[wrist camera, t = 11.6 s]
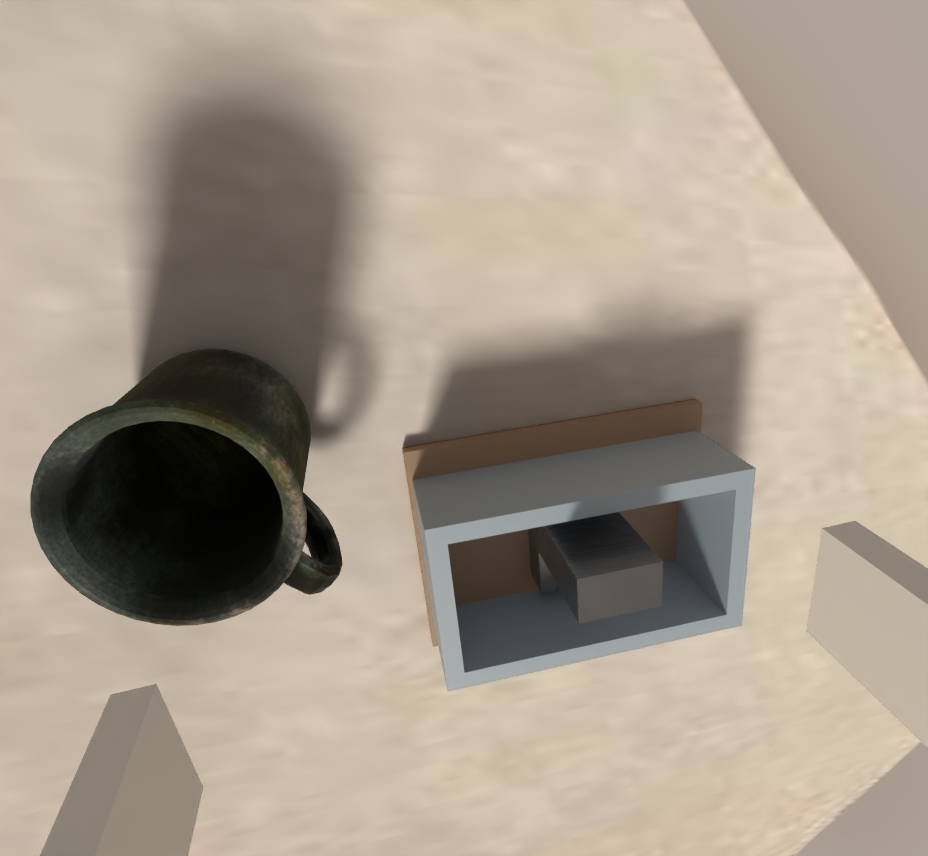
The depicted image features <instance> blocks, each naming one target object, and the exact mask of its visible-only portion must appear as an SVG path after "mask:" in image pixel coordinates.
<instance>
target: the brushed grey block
mask: <svg viewBox="0 0 928 856" xmlns="http://www.w3.org/2000/svg"><path fill="white" fill-rule="evenodd" d="M528 536H529V550H530V563H531V574H532V576H533V578H534V580H535V582H536V584H537V586H538V588H539V590H540V592H541V594H545V593H550V592H555V591H559V590H560V591H561V593H562V595H563V596H564V598H565V600H566V602H567V604H568V605H569V607H570V609H571V611H572V613H573V614H574V616H575V618H576V620H577V622H578V623H579V624H580V623H584V622H589V621H594V620H598V619H603V618H608V617H612V616H617V615H621V614H626V613H631V612H635V611H640V610H645V609H649V608H654V607H658V606H662V579H663V561H662V560H661V559H660V558H659V557H658V556H657V554H656V553H655V552H654V551H653V550H652V549H651V548H650V547H649V545H648V544H647V543H646V542H645V541H644V540H643V539H642V538H641V536H640V535H639V534H638V533H637V532H636V531H635V530H634V529H633V528H632V526H631V525H630V524H629V523H628V522H627V521H626V520H625V519H624V517H623V516H622V515H621V514H620V513H619V512H615V513H610V514H604V515H599V516H594V517H589V518H583V519H578V520H573V521H568V522H562V523H557V524H552V525H547V526H541V527H536V528H531V529H528Z"/></svg>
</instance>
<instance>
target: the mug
mask: <svg viewBox="0 0 928 856" xmlns="http://www.w3.org/2000/svg"><path fill="white" fill-rule="evenodd" d="M309 447H310V425H309V420H308V415H307V413H306V410H305V407H304V405H303V403H302V401H301V399H300V398H299V396H298V394H297V392H296V391H295V390H294V389H293V387H292V386H291V385H290V384H289V382H288V381H286V380H285V379H284V378H283V377H282V376H281V375H280V374H279V373H278V372H276V371H275V370H274V369H272V368H271V367H269V366H268V365H266V364H264V363H263V362H261V361H259V360H257V359H255V358H252V357H250V356H247V355H244V354H241V353H237V352H232V351H227V350H214V349H208V350H197V351H192V352H188V353H184V354H181V355H178V356H176V357H174V358H171V359H169V360H168V361H166V362H164V363H163V364H161V365H160V366H158V367H157V368H156V369H155V370H153V371H152V372H151V373H150V374H149V375H148V376H146V377H145V378H144V379H143V380H142V381H141V382H139V383H138V384H137V385H136V386H135V387H134V388H132V389H131V390H130V391H129V392H128V393H126V394H125V395H124V396H123V397H122V398H121V399H119V400H118V401H117V402H116V403H115V404H114V405H112V406H108V407H105V408H103V409H100V410H98V411H96V412H93V413H91V414H89V415H86V416H85V417H83V418H82V419H80V420H79V421H77V422H75V423H74V424H72V425H71V426H69V427H68V428H67V429H66V430H65V431H64V432H63V433H62V434H61V435H59V436H58V437H57V438H56V439H55V440H54V441H53V443H52V444H51V446H50V447H49V448H48V450H47V451H46V453H45V454H44V455H43V457H42V459H41V461H40V464H39V466H38V468H37V470H36V473H35V476H34V480H33V485H32V490H31V517H32V522H33V527H34V531H35V534H36V536H37V539H38V541H39V543H40V546H41V548H42V550H43V552H44V553H45V555H46V556H47V558H48V560H49V561H50V563H51V564H52V566H53V567H54V568H55V569H56V570H57V571H58V573H59V574H60V575H61V576H62V577H63V578H64V579H65V580H66V581H67V582H68V583H69V584H70V585H71V586H73V587H74V588H75V589H76V590H77V591H79V592H80V593H81V594H83V595H84V596H86V597H87V598H89V599H90V600H92V601H93V602H95V603H97V604H98V605H100V606H102V607H104V608H107V609H109V610H111V611H113V612H115V613H117V614H120V615H123V616H126V617H129V618H132V619H135V620H140V621H145V622H149V623H154V624H163V625H175V626H181V625H199V624H206V623H212V622H217V621H221V620H224V619H228V618H231V617H234V616H236V615H239V614H241V613H243V612H245V611H248V610H250V609H252V608H253V607H255V606H257V605H258V604H260V603H261V602H263V601H264V600H266V599H267V598H268V597H269V596H271V595H272V594H273V593H274V592H275V591H276V590H278V589H279V587H280V586H281V585H282V584H283V583H285V584H287V585H289V586H291V587H293V588H295V589H297V590H299V591H301V592H303V593H306V594H309V595H310V594H315V593H319V592H322V591H323V590H325V589H326V588H327V587H329V586H330V585H331V584H332V583H333V582H334V580H335V579H336V578H337V577H338V575H339V573H340V570H341V567H342V557H341V552H340V547H339V542H338V540H337V537H336V534H335V532H334V529H333V527H332V525H331V524H330V522H329V520H328V519H327V517H326V516H325V514H324V513H323V512H322V511H321V510H320V508H319V507H318V506H317V505H316V504H315V503H314V502H313V501H312V500H311V499H310V498H309V497H308V496H307V495H306V494H305V493H303V485H304V479H305V472H306V466H307V459H308V453H309ZM305 542H306V544H307V546H308V548H309V551H310V554H311V557H310V556H309V555H307V554H306V553H304V552H303V551H302V549H303V547H304V543H305Z"/></svg>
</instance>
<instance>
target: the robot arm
mask: <svg viewBox="0 0 928 856" xmlns="http://www.w3.org/2000/svg"><path fill="white" fill-rule="evenodd" d="M807 632H808V633H809V634H810V635H811V636H812V637H813V638H814V639H815V640H816V641H817V642H818V643H819V644H820V645H821V646H822V647H823V648H824V649H825V650H826V651H827V652H828V653H830V654H831V655H832V656H833V657H834V658H835V659H836V660H837V661H838V662H839V663H840V664H841V665H842V666H843V667H844V668H845V669H846V670H847V671H848V672H849V673H850V674H851V675H852V676H853V677H854V678H855V679H856V680H858V681H859V682H860V683H861V684H862V685H863V686H864V687H865V688H866V689H867V690H868V691H869V692H870V693H871V694H872V695H873V696H874V697H875V698H876V699H877V700H878V701H879V702H880V703H881V704H882V705H883V706H884V707H885V708H887V709H888V710H889V711H890V712H891V713H892V714H893V715H894V716H895V717H896V718H897V719H898V720H899V721H900V722H901V723H902V724H903V725H904V726H905V727H906V728H907V729H908V730H909V731H910V732H911V733H912V734H913V735H915V736H916V737H917V738H918V739H919V740H920V741H921V742H922V743H923V744H924V745H925V746H926V747H927V748H928V568H926V567H925V566H923V565H921V564H920V563H918V562H917V561H915V560H914V559H912V558H911V557H909V556H908V555H906V554H905V553H903V552H902V551H900V550H899V549H897V548H896V547H894V546H893V545H891V544H890V543H888V542H887V541H885V540H884V539H882V538H881V537H879V536H878V535H876V534H875V533H873V532H872V531H870V530H868V529H867V528H865V527H864V526H862V525H861V524H859V523H858V522H856V521H852V522H848V523H843V524H839V525H835V526H831V527H826V528H822V532H821V539H820V546H819V552H818V559H817V565H816V572H815V578H814V585H813V592H812V598H811V605H810V611H809V618H808V625H807ZM202 790H203V785H202V783H201V781H200V779H199V777H198V774H197V772H196V770H195V768H194V766H193V763H192V761H191V759H190V757H189V755H188V753H187V750H186V748H185V746H184V744H183V742H182V739H181V737H180V735H179V733H178V731H177V728H176V726H175V724H174V722H173V720H172V717H171V715H170V713H169V711H168V709H167V706H166V704H165V702H164V700H163V698H162V695H161V693H160V691H159V689H158V687H157V684H154V685H150V686H146V687H142V688H137V689H133V690H129V691H125V692H120V693H116V694H112V695H110V697H109V700H108V702H107V704H106V707H105V709H104V711H103V713H102V716H101V718H100V720H99V722H98V725H97V727H96V729H95V732H94V734H93V736H92V738H91V741H90V743H89V745H88V748H87V750H86V752H85V754H84V757H83V759H82V761H81V763H80V766H79V768H78V770H77V773H76V775H75V777H74V779H73V782H72V784H71V786H70V788H69V791H68V793H67V795H66V798H65V800H64V802H63V804H62V807H61V809H60V811H59V813H58V816H57V818H56V820H55V823H54V825H53V827H52V829H51V832H50V834H49V836H48V838H47V841H46V843H45V845H44V848H43V850H42V852H41V854H40V856H188V853H189V849H190V844H191V840H192V835H193V830H194V826H195V821H196V817H197V812H198V808H199V803H200V799H201V794H202Z"/></svg>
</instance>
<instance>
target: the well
mask: <svg viewBox="0 0 928 856" xmlns="http://www.w3.org/2000/svg"><path fill="white" fill-rule="evenodd" d="M701 406H702V403H701V402H700V401H698V400H696V399H694V400H688V401H682V402H676V403H670V404H664V405H658V406H652V407H646V408H640V409H634V410H628V411H622V412H616V413H610V414H604V415H598V416H592V417H586V418H580V419H574V420H568V421H562V422H556V423H550V424H544V425H538V426H532V427H526V428H520V429H514V430H508V431H502V432H496V433H490V434H484V435H478V436H472V437H466V438H460V439H454V440H448V441H442V442H436V443H430V444H424V445H418V446H412V447H406V448H402V449H403V455H404V462H405V468H406V475H407V481H408V488H409V494H410V501H411V508H412V514H413V521H414V527H415V534H416V540H417V547H418V553H419V560H420V566H421V573H422V579H423V586H424V592H425V599H426V605H427V612H428V618H429V625H430V631H431V638H432V643H433V647H434V646H439V651H440V656H441V661H442V665H443V670H444V675H445V680H446V684H447V689H448V691H452V690H457V689H461V688H466V687H470V686H475V685H479V684H484V683H488V682H492V681H497V680H501V679H506V678H510V677H515V676H519V675H524V674H528V673H532V672H537V671H541V670H546V669H550V668H555V667H559V666H564V665H568V664H573V663H577V662H581V661H586V660H590V659H595V658H599V657H604V656H608V655H613V654H617V653H621V652H626V651H630V650H635V649H639V648H644V647H648V646H653V645H657V644H661V643H666V642H670V641H675V640H679V639H684V638H688V637H693V636H697V635H702V634H706V633H710V632H715V631H719V630H724V629H728V628H733V627H737V626H742V617H743V606H744V595H745V583H746V572H747V561H748V549H749V538H750V527H751V515H752V504H753V492H754V481H755V470H756V468H754V467H753V466H751V465H750V464H748V463H746V462H745V461H743V460H742V459H740V458H739V457H737V456H736V455H734V454H732V453H731V452H729V451H728V450H726V449H725V448H723V447H721V446H720V445H718V444H717V443H715V442H714V441H712V440H711V439H709V438H707V437H706V436H704V435H703V434H701V433H700V426H701ZM615 512H619V513H620V514H621V515H622V516H623V517H624V519H625V520H626V521H627V522H628V523H629V524H630V525H631V526H632V528H633V529H634V530H635V531H636V532H637V533H638V534H639V535H640V536H641V538H642V539H643V540H644V541H645V542H646V543H647V544H648V545H649V547H650V548H651V549H652V550H653V551H654V552H655V553H656V554H657V556H658V557H659V558H660V559H661V560H662V561H663V579H662V606H658V607H654V608H649V609H645V610H640V611H635V612H631V613H626V614H621V615H617V616H612V617H608V618H603V619H598V620H594V621H589V622H584V623H580V624H579V623H578V622H577V620H576V618H575V616H574V614H573V613H572V611H571V609H570V607H569V605H568V604H567V602H566V600H565V598H564V596H563V595H562V593H561V591H560V590H559V591H555V592H550V593H545V594H541V592H540V590H539V588H538V586H537V584H536V582H535V580H534V578H533V576H532V574H531V563H530V550H529V536H528V529H531V528H536V527H541V526H547V525H552V524H557V523H562V522H568V521H573V520H578V519H583V518H589V517H594V516H599V515H604V514H610V513H615Z"/></svg>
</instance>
